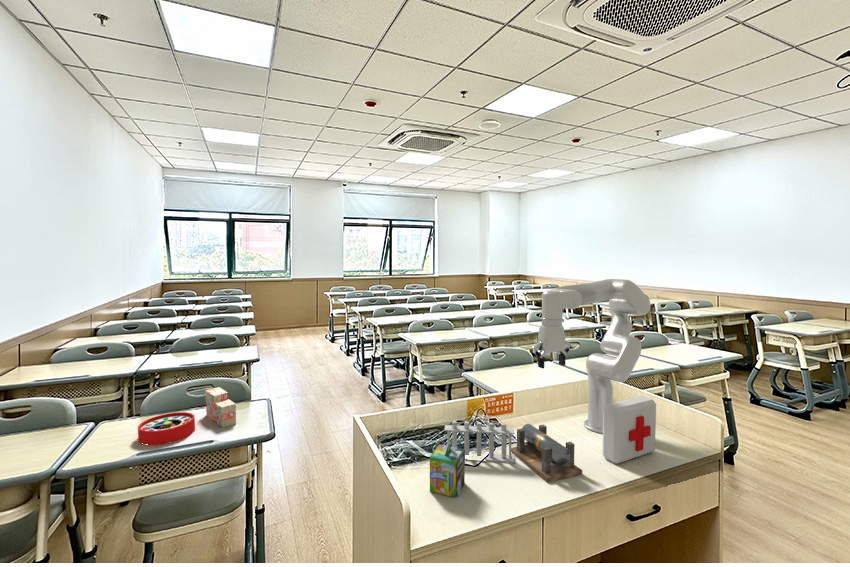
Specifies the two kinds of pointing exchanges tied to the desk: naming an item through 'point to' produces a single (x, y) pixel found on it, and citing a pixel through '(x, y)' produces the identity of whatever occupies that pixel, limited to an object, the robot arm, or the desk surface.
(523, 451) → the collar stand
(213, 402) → the stack of blocks
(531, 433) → the grey cylinder
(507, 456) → the test tube rack
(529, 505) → the desk surface
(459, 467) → the chalk box
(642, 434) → the bevelled white case
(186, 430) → the toy clock
